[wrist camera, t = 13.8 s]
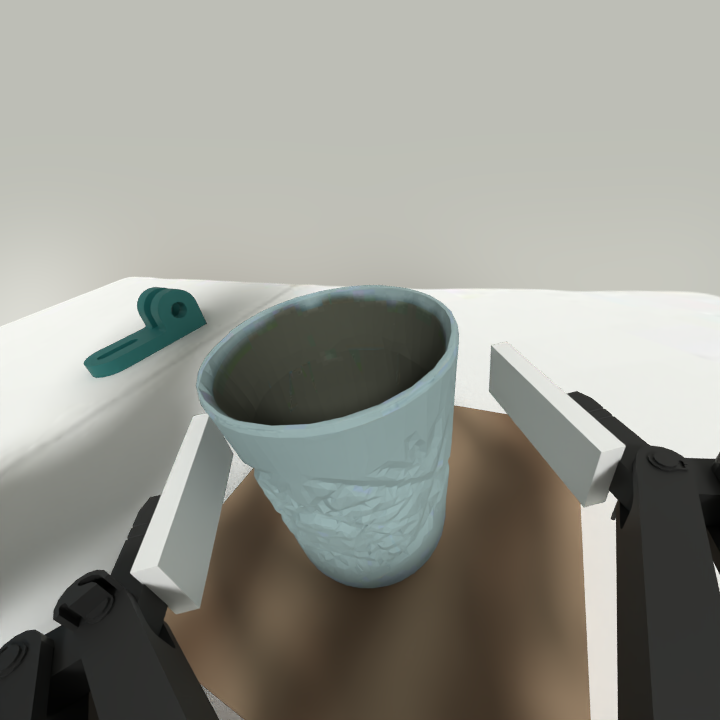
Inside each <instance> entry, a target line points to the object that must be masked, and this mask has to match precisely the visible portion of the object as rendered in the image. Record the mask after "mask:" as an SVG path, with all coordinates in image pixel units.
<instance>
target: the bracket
mask: <svg viewBox="0 0 720 720" xmlns="http://www.w3.org/2000/svg"><path fill="white" fill-rule="evenodd" d="M137 309H138V312H139V315H140V316H141V318H142V320H143V321H144V323H145V325H146V327H145V328H143V329H141V330H139V331H137V332H135V333H133V334H131V335H129V336H127V337H125V338H123V339H121V340H119V341H117V342H115V343H113V344H111V345H109V346H107V347H105V348H103V349H101V350H99V351H97V352H95V353H94V354H92V355H91V356H89V357H88V358H87V359H86V360H85V361H84V365H85V367H86V368H87V369H88V371H89V372H90V373H91V375H92V376H93V377H96V378H100V377H106V376H110V375H113V374H116V373H118V372H121V371H123V370H125V369H127V368H128V367H130V366H132V365H134V364H135V363H137V362H139V361H141V360H143V359H144V358H146V357H148V356H150V355H151V354H153V353H155V352H157V351H159V350H160V349H162V348H164V347H166V346H168V345H169V344H171V343H173V342H175V341H176V340H178V339H180V338H182V337H184V336H185V335H187V334H189V333H191V332H193V331H194V330H196V329H198V328H200V327H201V326H203V325H205V324H207V323H206V321H205V319H204V317H203V315H202V313H201V310H200V308H199V306H198V304H197V302H196V300H195V299H194V297H193V296H192V295H191V294H190V293H188V292H186V291H184V290H179V289H168V288H160V287H153V288H149V289H147V290H145V291H144V292H143V293H142V294H141V295H140V297H139V299H138V302H137Z"/></svg>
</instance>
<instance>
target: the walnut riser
mask: <svg viewBox="0 0 720 720" xmlns="http://www.w3.org/2000/svg"><path fill="white" fill-rule="evenodd" d="M448 463H449V478H448V487H447V495H446V515H445V521H444V526H443V531H442V535H441V538H440V540H439V542H438V545H437V547H436V549H435V550H434V552H433V553H432V555H431V557H430V558H429V559H428V561H427V562H426V563H425V564H424V565H423V566H422V567H421V568H420V569H418V570H417V571H416V572H415V573H414V574H412V575H410V576H409V577H407V578H405V579H404V580H402V581H400V582H398V583H395V584H392V585H389V586H384V587H378V588H357V587H352V586H347V585H344V584H342V583H339V582H337V581H335V580H333V579H332V578H330V577H328V576H326V575H325V574H323V573H322V572H321V571H320V570H318V569H317V567H316V566H315V565H314V564H313V563H312V562H311V561H310V560H309V558H308V557H307V555H306V554H305V552H304V551H303V549H302V547H301V546H300V544H299V543H298V541H297V539H296V538H295V536H294V534H293V533H292V532H290V530H289V528H288V527H287V525H286V524H285V523H284V521H283V520H282V517H281V514H280V513H278V512H277V511H276V510H275V508H274V507H273V505H272V503H271V502H270V500H269V499H268V498H267V496H266V495H265V494H264V491H263V489H262V488H261V487H260V485H259V484H258V482H257V480H256V479H255V477H254V469H255V468H253V469H252V470H251V472H250V473H249V474H248V475H247V476H246V477H245V479H244V480H243V481H242V482H241V483H240V485H239V486H238V487H237V488H236V489H235V490H234V492H233V493H232V494H231V495H230V496H229V498H228V499H227V500H226V501H225V502H224V504H223V505H222V509H221V513H220V518H219V522H218V527H217V532H216V536H215V541H214V545H213V550H212V555H211V559H210V564H209V569H208V573H207V578H206V582H205V587H204V592H203V596H202V601H201V605H200V608H199V609H195V610H191V611H188V612H184V613H180V614H175V613H174V612H173V611H172V610H171V609H170V608H168V607H167V611H166V614H165V618H164V621H165V622H166V623H167V624H168V625H169V627H170V629H171V631H172V633H173V635H174V636H175V638H176V640H177V642H178V644H179V646H180V648H181V649H182V651H183V653H184V655H185V657H186V659H187V661H188V663H189V664H190V666H191V668H192V670H193V672H194V674H195V676H196V677H197V679H198V681H199V683H200V684H201V685H203V686H204V687H205V688H206V689H208V690H209V691H210V692H211V693H212V694H214V695H215V696H216V697H217V698H219V699H220V700H221V701H222V702H223V703H225V704H226V705H227V706H228V707H230V708H231V709H232V710H233V711H234V712H236V713H237V714H238V715H239V716H240V717H242V718H243V719H244V720H591V717H590V696H589V675H588V654H587V633H586V612H585V591H584V570H583V548H582V527H581V506H580V502H579V501H578V500H577V498H576V497H575V496H574V495H573V493H572V492H571V491H570V490H569V489H568V487H567V486H566V485H565V484H564V482H563V481H562V480H561V479H560V478H559V476H558V475H557V474H556V473H555V471H554V470H553V469H552V468H551V467H550V465H549V464H548V463H547V462H546V460H545V459H544V458H543V457H542V456H541V454H540V453H539V452H538V451H537V449H536V448H535V447H534V446H533V445H532V443H531V442H530V441H529V440H528V438H527V437H526V436H525V435H524V434H523V432H522V431H521V430H520V429H519V427H518V426H517V425H516V424H515V423H514V421H513V420H512V419H511V418H510V416H509V415H508V414H502V413H496V412H490V411H484V410H478V409H472V408H466V407H460V406H454V412H453V430H452V444H451V453H450V457H449V459H448Z"/></svg>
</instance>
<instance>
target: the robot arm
mask: <svg viewBox="0 0 720 720" xmlns="http://www.w3.org/2000/svg"><path fill="white" fill-rule="evenodd" d="M489 392H490V393H491V394H492V396H493V397H494V398H495V399H496V401H497V402H498V403H499V404H500V405H501V407H502V408H503V409H504V410H505V412H506V413H507V414H508V415H509V416H510V418H511V419H512V420H513V421H514V423H515V424H516V425H517V426H518V427H519V429H520V430H521V431H522V432H523V434H524V435H525V436H526V437H527V438H528V440H529V441H530V442H531V443H532V445H533V446H534V447H535V448H536V449H537V451H538V452H539V453H540V454H541V456H542V457H543V458H544V459H545V460H546V462H547V463H548V464H549V465H550V467H551V468H552V469H553V470H554V471H555V473H556V474H557V475H558V476H559V478H560V479H561V480H562V481H563V482H564V484H565V485H566V486H567V487H568V489H569V490H570V491H571V492H572V493H573V495H574V496H575V497H576V498H577V500H578V501H579V502H580V503H581V504H582V506H583V507H587V506H591V505H595V504H598V503H602V502H605V501H606V498H607V495H608V493H609V491H610V492H611V493H612V494H613V495H614V496H615V497H616V498H617V499H618V501H617V503H616V506H615V508H614V511H613V513H612V516H611V519H612V520H615V518H616V563H617V667H618V720H720V591H719V587H718V582H717V577H716V573H715V568H714V564H715V566H716V568H717V570H718V572H719V574H720V453H719V454H718V456H717V458H716V459H700V458H684V457H683V456H681V455H680V454H678V453H676V452H674V451H672V450H669V449H666V448H663V447H657V446H650V445H649V444H647V443H646V442H645V441H644V440H642V439H641V438H640V437H639V436H637V435H636V434H635V433H634V432H633V431H631V430H630V429H629V428H628V427H626V426H625V425H624V424H623V423H622V422H620V421H619V420H618V419H617V418H615V417H613V416H612V414H611V413H609V412H608V411H607V410H606V409H603V407H602V406H601V405H600V404H598V403H597V402H596V401H595V400H593V399H592V398H590V397H588V396H586V395H584V394H582V393H580V392H577V391H576V392H572V393H568V394H566V393H565V392H564V391H563V390H562V389H561V388H559V387H558V386H557V385H556V384H555V383H554V382H553V381H551V380H550V379H549V378H548V377H547V376H546V375H545V374H543V373H542V372H541V371H540V370H539V369H538V368H537V367H535V366H534V365H533V364H532V363H531V362H530V361H529V360H528V359H526V358H525V357H524V356H523V355H522V354H521V353H520V352H518V351H517V350H516V349H515V348H514V347H513V346H512V345H510V344H509V343H508V342H502V343H498V344H494V345H491V360H490V381H489ZM232 458H233V452H232V450H231V449H230V447H229V445H228V443H227V441H226V440H225V438H224V436H223V434H222V433H221V431H220V430H219V429H218V427H217V426H216V425H215V423H214V422H213V421H212V419H211V418H210V417H209V415H208V414H207V413H204V414H200V415H196V416H193V418H192V420H191V423H190V425H189V428H188V430H187V433H186V435H185V438H184V440H183V442H182V445H181V447H180V450H179V452H178V455H177V457H176V460H175V462H174V465H173V467H172V470H171V472H170V475H169V477H168V480H167V482H166V485H165V487H164V490H163V492H162V494H161V495H158V496H154V497H150V498H149V499H148V501H147V502H146V503H145V504H144V506H143V507H142V508H141V509H140V511H139V512H138V515H137V517H136V519H135V521H134V524H133V528H131V530H130V533H129V535H128V540H126V541H125V544H124V546H123V548H122V550H121V553H120V555H119V557H118V559H117V562H116V564H115V566H114V568H113V570H112V573H111V575H109V574H108V573H107V572H105V571H104V570H95V571H92V572H89V573H87V574H85V575H84V576H82V577H80V578H79V579H77V580H76V581H75V582H74V583H73V584H72V585H71V586H70V587H69V588H67V589H66V591H65V592H64V593H63V595H62V596H61V597H60V599H59V600H58V602H57V605H56V607H55V609H54V615H53V620H55V621H56V622H58V623H60V624H61V626H59V627H58V628H56V629H54V630H52V631H51V632H49V633H47V634H45V635H44V634H42V633H40V632H38V631H36V630H28V631H25V632H23V633H21V634H19V635H17V636H15V637H14V638H12V639H11V640H10V641H9V642H7V643H6V644H5V645H4V646H3V647H2V648H1V649H0V720H219V718H218V716H217V715H216V713H215V711H214V709H213V707H212V705H211V703H210V702H209V700H208V698H207V696H206V694H205V692H204V690H203V689H202V687H201V685H200V683H199V681H198V679H197V677H196V676H195V674H194V672H193V670H192V668H191V666H190V664H189V663H188V661H187V659H186V657H185V655H184V653H183V651H182V649H181V648H180V646H179V644H178V642H177V640H176V638H175V636H174V635H173V633H172V631H171V629H170V627H169V625H168V624H167V623H166V622H165V621H164V618H165V614H166V611H167V607H168V608H170V609H171V610H172V611H173V612H174V613H175V614H180V613H184V612H188V611H191V610H195V609H199V608H200V605H201V601H202V596H203V592H204V587H205V582H206V578H207V573H208V569H209V564H210V559H211V555H212V550H213V545H214V541H215V536H216V532H217V527H218V522H219V518H220V513H221V509H222V504H223V499H224V495H225V490H226V486H227V481H228V476H229V472H230V467H231V462H232ZM713 562H714V564H713Z"/></svg>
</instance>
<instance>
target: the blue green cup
mask: <svg viewBox="0 0 720 720" xmlns="http://www.w3.org/2000/svg"><path fill="white" fill-rule="evenodd" d="M458 344H459V332H458V325H457V323H456V321H455V318H454V316H453V314H452V312H451V311H450V310H449V309H448V308H447V307H446V306H445V305H444V304H443V303H441V302H440V301H438V300H437V299H435V298H433V297H431V296H430V295H427V294H424V293H422V292H419V291H415V290H411V289H407V288H401V287H392V286H383V285H363V286H351V287H342V288H336V289H330V290H324V291H320V292H316V293H312V294H308V295H304V296H300V297H296V298H294V299H291V300H288V301H286V302H283V303H280V304H278V305H275V306H273V307H271V308H269V309H266V310H264V311H262V312H260V313H258V314H256V315H255V316H253V317H251V318H249V319H248V320H246V321H244V322H243V323H241V324H240V325H238V326H237V327H236V328H234V329H233V330H231V331H230V333H229V334H228V335H227V336H226V337H225V338H224V339H223V340H222V341H220V342H219V343H218V344H217V345H216V346H215V347H214V348H213V349H212V351H211V352H210V353H209V354H208V355H207V357H206V358H205V359H204V361H203V363H202V365H201V367H200V369H199V372H198V377H197V383H196V388H197V392H198V396H199V400H200V403H201V406H202V407H203V408H204V410H205V411H206V413H207V414H208V415H209V417H210V418H211V419H212V421H213V422H214V423H215V425H216V426H217V427H218V429H219V430H220V431H221V433H222V434H223V435H224V437H225V438H226V439H227V441H228V442H229V443H230V445H231V446H232V447H233V449H234V450H235V451H236V452H237V454H238V456H239V457H240V459H241V460H242V461H243V462H244V463H245V464H247V465H249V466H251V467H253V468H255V469H254V477H255V479H256V480H257V482H258V484H259V485H260V487H261V488H262V489H263V491H264V494H265V495H266V496H267V498H268V499H269V500H270V502H271V503H272V505H273V507H274V508H275V510H276V511H277V512H278V513H280V514H281V517H282V520H283V521H284V523H285V524H286V525H287V527H288V528H289V530H290V532H292V533H293V534H294V536H295V538H296V539H297V541H298V543H299V544H300V546H301V547H302V549H303V551H304V552H305V554H306V555H307V557H308V558H309V560H310V561H311V562H312V563H313V564H314V565H315V566H316V567H317V569H318V570H320V571H321V572H322V573H323V574H325V575H326V576H328V577H330V578H332V579H333V580H335V581H337V582H339V583H342V584H344V585H347V586H352V587H357V588H378V587H384V586H389V585H392V584H395V583H398V582H400V581H402V580H404V579H405V578H407V577H409V576H410V575H412V574H414V573H415V572H416V571H417V570H418V569H420V568H421V567H422V566H423V565H424V564H425V563H426V562H427V561H428V559H429V558H430V557H431V555H432V553H433V552H434V550H435V549H436V547H437V545H438V542H439V540H440V538H441V535H442V531H443V526H444V521H445V515H446V495H447V487H448V478H449V463H448V459H449V457H450V453H451V444H452V430H453V412H454V395H455V381H456V367H457V357H458Z"/></svg>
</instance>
